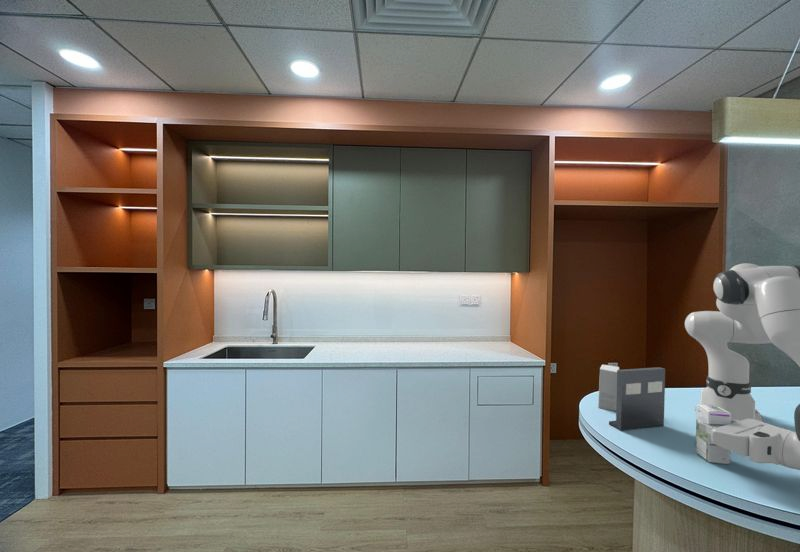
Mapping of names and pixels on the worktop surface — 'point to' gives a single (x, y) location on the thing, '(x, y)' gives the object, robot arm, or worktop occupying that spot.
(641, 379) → the label panel
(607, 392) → the skincare box
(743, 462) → the worktop surface
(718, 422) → the syrup box
